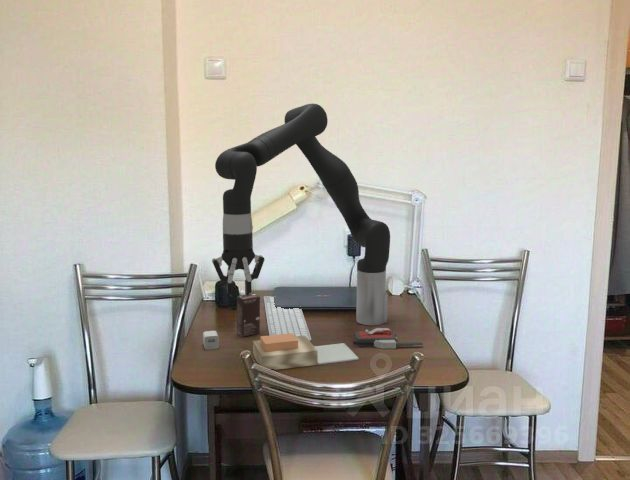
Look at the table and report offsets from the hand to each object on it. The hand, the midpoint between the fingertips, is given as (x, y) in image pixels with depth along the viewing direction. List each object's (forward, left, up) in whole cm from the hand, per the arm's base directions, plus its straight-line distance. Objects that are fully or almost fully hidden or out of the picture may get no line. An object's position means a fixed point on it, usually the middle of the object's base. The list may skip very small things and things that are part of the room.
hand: (239, 295), depth 157 cm
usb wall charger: (+6, -17, -19) cm, 27 cm away
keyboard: (-21, -34, -20) cm, 45 cm away
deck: (-12, 0, -19) cm, 23 cm away
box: (-7, -23, -19) cm, 31 cm away
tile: (-11, 0, -15) cm, 18 cm away
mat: (-26, 0, -19) cm, 32 cm away
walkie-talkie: (-43, -3, -20) cm, 48 cm away
